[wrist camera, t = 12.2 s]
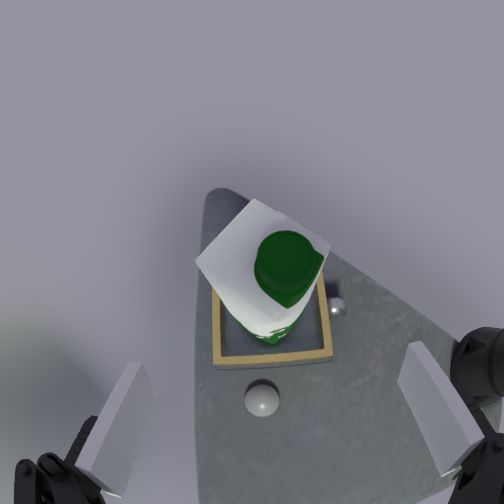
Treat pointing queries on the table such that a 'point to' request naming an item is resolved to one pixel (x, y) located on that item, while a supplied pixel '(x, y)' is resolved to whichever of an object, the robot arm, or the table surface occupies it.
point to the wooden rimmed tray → (287, 348)
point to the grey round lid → (262, 400)
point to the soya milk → (264, 269)
